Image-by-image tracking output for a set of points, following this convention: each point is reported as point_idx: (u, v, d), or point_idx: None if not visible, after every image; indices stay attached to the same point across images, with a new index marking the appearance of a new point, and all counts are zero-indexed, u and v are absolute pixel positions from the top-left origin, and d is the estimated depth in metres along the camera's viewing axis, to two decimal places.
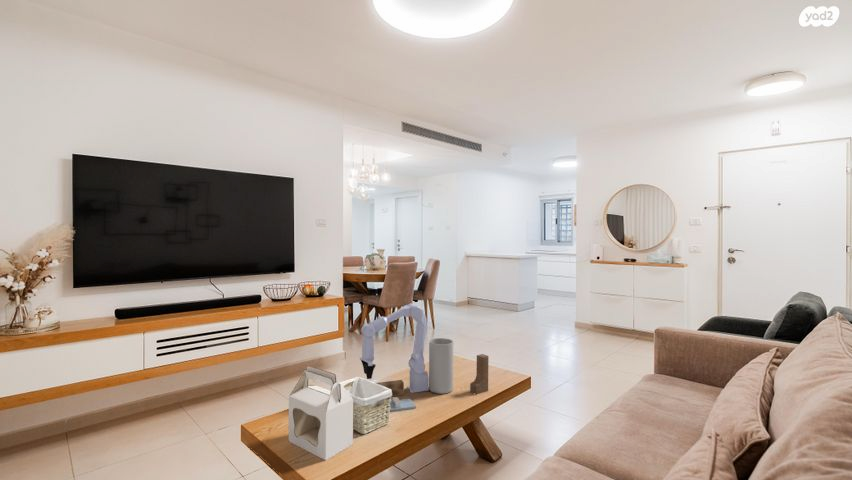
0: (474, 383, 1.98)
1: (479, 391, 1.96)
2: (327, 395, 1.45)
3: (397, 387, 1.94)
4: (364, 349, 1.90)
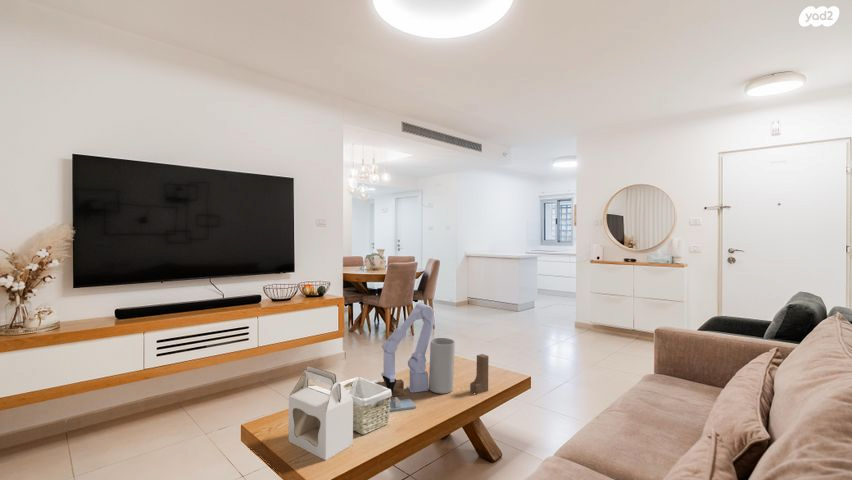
0: (474, 383, 1.98)
1: (479, 391, 1.96)
2: (327, 395, 1.45)
3: (397, 387, 1.94)
4: (386, 365, 1.92)
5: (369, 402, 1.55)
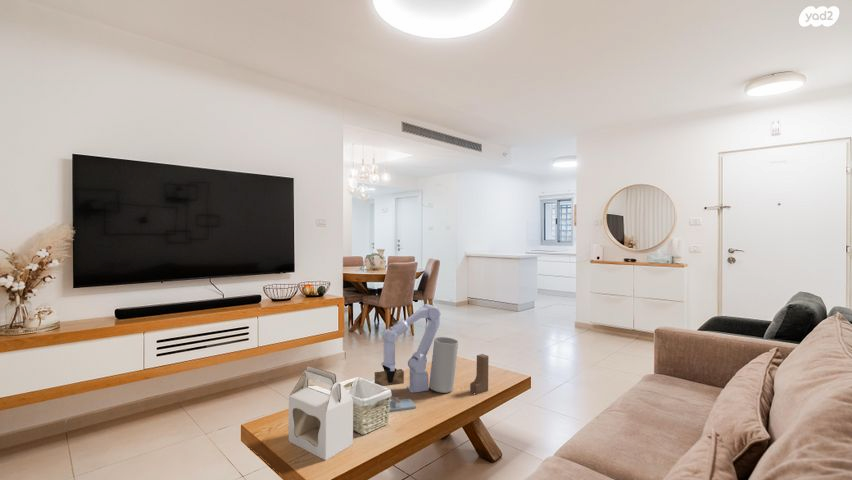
0: (474, 383, 1.98)
1: (479, 391, 1.96)
2: (327, 395, 1.45)
3: (397, 376, 1.94)
4: (386, 354, 1.92)
5: (369, 402, 1.55)
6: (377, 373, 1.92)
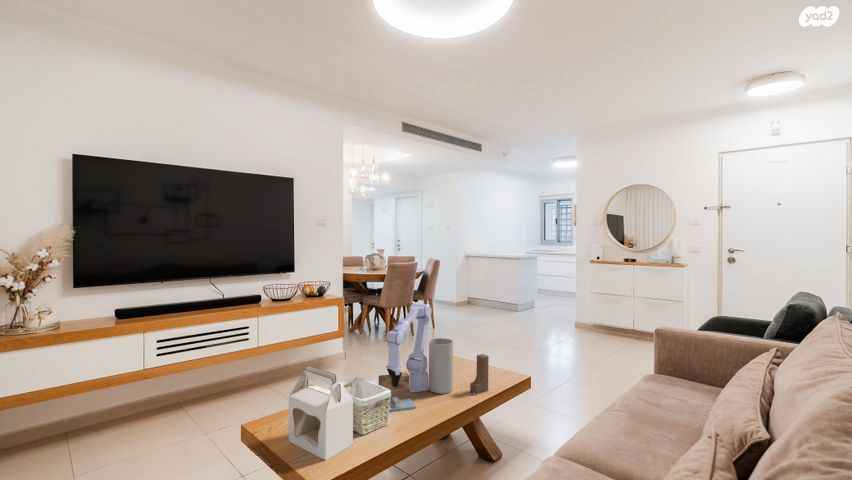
0: (474, 383, 1.98)
1: (479, 391, 1.96)
2: (327, 395, 1.45)
3: (402, 380, 1.84)
4: (395, 357, 1.82)
5: (368, 402, 1.54)
6: (381, 377, 1.82)
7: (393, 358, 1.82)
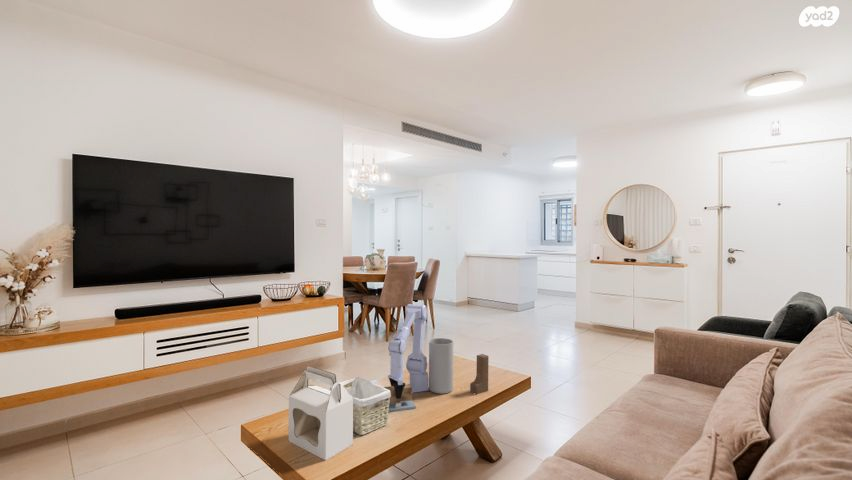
0: (474, 383, 1.98)
1: (479, 391, 1.96)
2: (327, 395, 1.45)
3: (405, 392, 1.80)
4: (398, 367, 1.78)
5: (368, 403, 1.54)
6: None
7: (395, 367, 1.78)
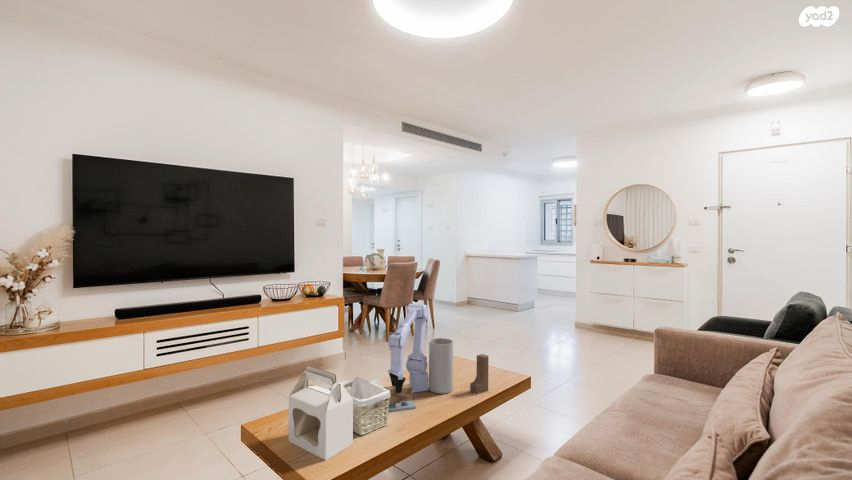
0: (474, 383, 1.98)
1: (479, 391, 1.96)
2: (327, 395, 1.45)
3: (405, 392, 1.80)
4: (398, 361, 1.78)
5: (367, 403, 1.54)
6: None
7: (395, 362, 1.78)
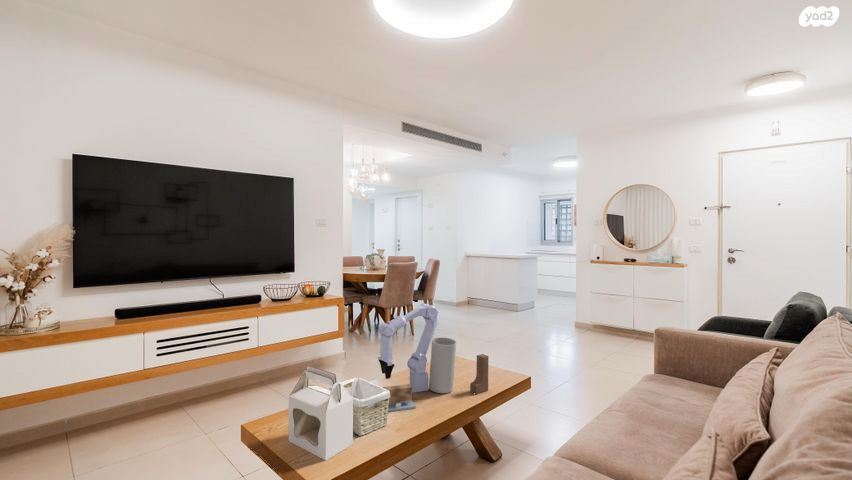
0: (474, 383, 1.98)
1: (479, 391, 1.96)
2: (327, 395, 1.45)
3: (405, 392, 1.80)
4: (384, 349, 1.89)
5: (367, 403, 1.54)
6: None
7: (385, 350, 1.89)
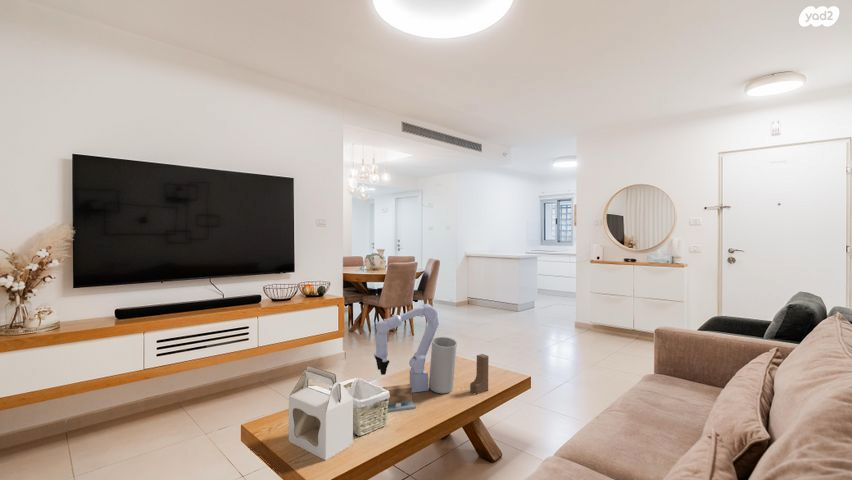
0: (474, 383, 1.98)
1: (479, 391, 1.96)
2: (327, 395, 1.45)
3: (405, 392, 1.80)
4: (378, 345, 1.95)
5: (366, 403, 1.53)
6: None
7: (380, 346, 1.95)
